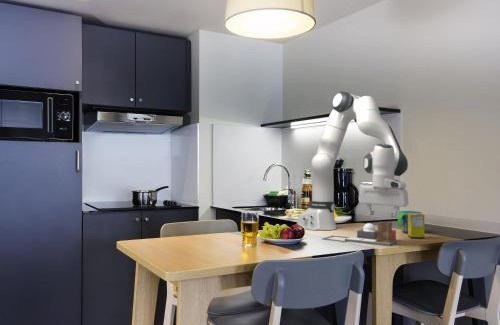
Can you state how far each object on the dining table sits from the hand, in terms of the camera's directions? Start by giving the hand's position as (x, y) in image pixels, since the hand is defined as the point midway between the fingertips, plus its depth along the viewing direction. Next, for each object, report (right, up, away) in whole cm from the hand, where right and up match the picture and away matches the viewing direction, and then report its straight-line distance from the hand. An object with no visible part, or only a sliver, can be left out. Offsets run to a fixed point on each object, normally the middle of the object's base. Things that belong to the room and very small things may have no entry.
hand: (382, 216), depth 189 cm
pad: (-16, -12, +12) cm, 23 cm away
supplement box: (+21, -12, +18) cm, 30 cm away
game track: (-4, -12, +4) cm, 13 cm away
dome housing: (-2, -12, +14) cm, 19 cm away
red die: (+6, -12, +9) cm, 16 cm away
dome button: (-2, -11, +14) cm, 18 cm away
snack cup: (+24, -12, +34) cm, 43 cm away
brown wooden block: (+1, -11, 0) cm, 11 cm away
